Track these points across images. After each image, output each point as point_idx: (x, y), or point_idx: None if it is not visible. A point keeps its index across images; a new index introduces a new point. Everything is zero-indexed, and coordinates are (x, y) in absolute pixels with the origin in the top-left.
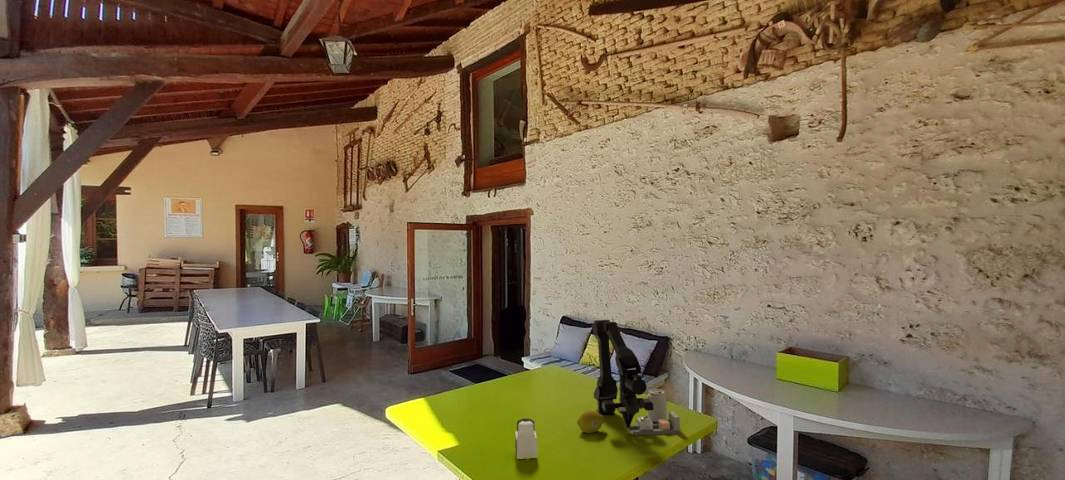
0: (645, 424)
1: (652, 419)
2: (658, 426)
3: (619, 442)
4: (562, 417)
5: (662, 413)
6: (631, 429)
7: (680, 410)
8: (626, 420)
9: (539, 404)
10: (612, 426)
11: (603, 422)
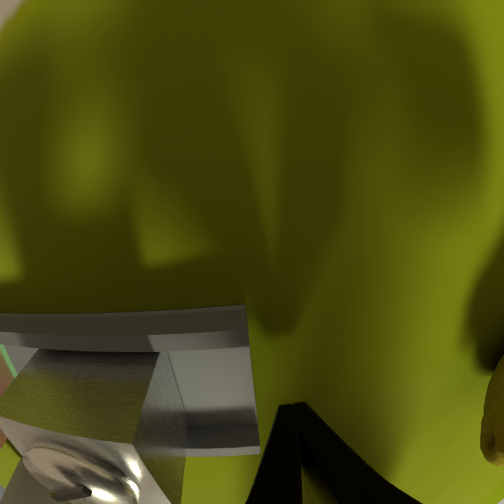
0: (67, 405)
1: None
2: None
3: (429, 143)
4: None
5: (13, 492)
6: (236, 422)
7: None
8: (346, 467)
9: (482, 491)
10: (363, 450)
11: (495, 412)
